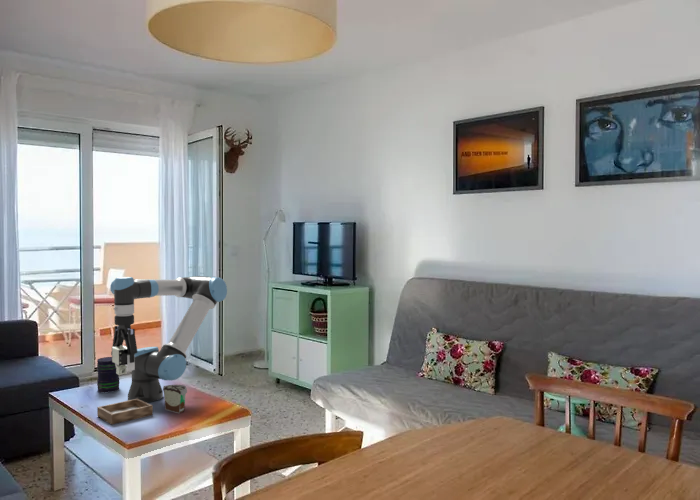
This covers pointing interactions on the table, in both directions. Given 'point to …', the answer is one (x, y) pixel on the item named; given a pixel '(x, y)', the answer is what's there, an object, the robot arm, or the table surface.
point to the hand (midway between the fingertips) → (124, 368)
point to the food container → (175, 398)
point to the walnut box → (124, 411)
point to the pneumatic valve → (120, 358)
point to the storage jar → (107, 375)
